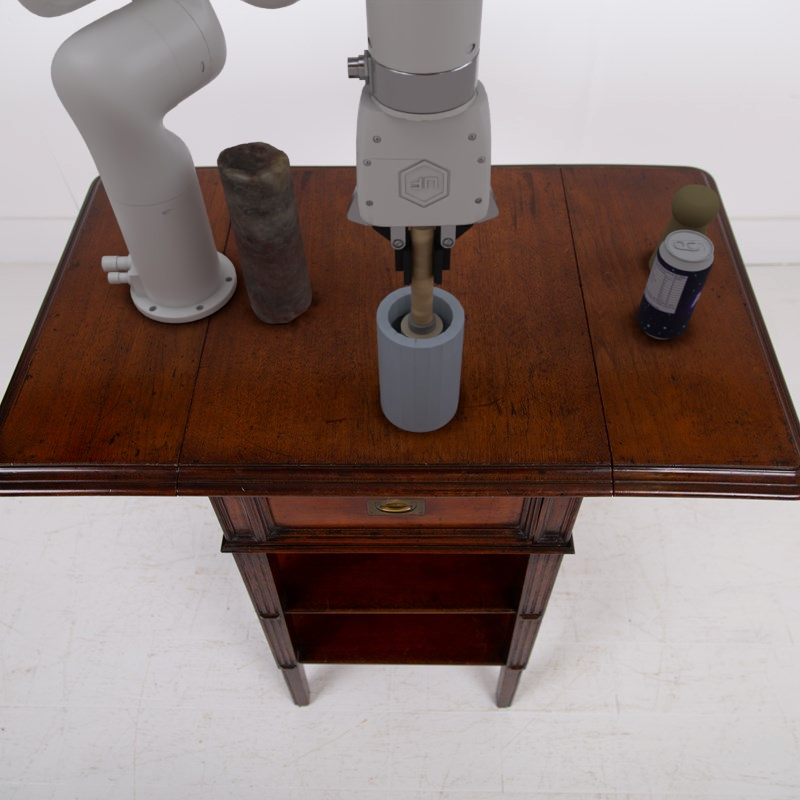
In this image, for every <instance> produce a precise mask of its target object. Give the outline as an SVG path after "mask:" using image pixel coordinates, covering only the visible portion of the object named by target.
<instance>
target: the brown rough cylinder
mask: <svg viewBox="0 0 800 800" xmlns="http://www.w3.org/2000/svg"><path fill="white" fill-rule="evenodd" d="M216 166H217V170H218V174H219V179H220V182H221V186H222V189H223V194H224V198H225V202H226V206H227V210H228V215H229V219H230V223H231V227H232V231H233V234H234V241H235V244H236V249H237V254H238V257H239V261H240V265H241V266H240V267H241V270H242V274H243V279H244V284H245V288H246V292H247V295H248V299H249V304H250V306H251V309H252V310H253V312H254V313H255V315H256V316H257V317H258V319H259V320H260V321H262V322H263V323H265V324H270V325H271V324H272V325H273V324H275V325H276V324H287V323H290V322H292V321H294V319H295V318H297V317H299V316H300V315H301V314H304V313H305V312H307V310H308V309H309V307H310V305H311V304H312V297H313V293H312V286H311V285H312V284H311V279H310V273H309V268H308V263H307V258H306V251H305V246H304V242H303V241H304V240H303V234H302V230H301V229H302V228H301V224H300V218H299V211H298V204H297V198H296V191H295V186H294V180H293V176H292V175H293V174H292V167H291V162H290V158H289V156H288V154H287V153H286V152H285V151H284V150H281V149H278V147H275V146H274V145H272V144H271V143H268V142H263V141H253V142H246V143H240V144H236V145H233V146H230V147H229V146H228V147H226V148H224V149H223V150H221V151H220V152H219V154H218V156H217V159H216Z"/></svg>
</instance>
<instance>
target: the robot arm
mask: <svg viewBox="0 0 800 800" xmlns="http://www.w3.org/2000/svg"><path fill="white" fill-rule="evenodd" d="M17 1H18V2H19V4H20V5H22V7H23V8H24V9H26V10H27V11H28V12H30V13H31V14H33V15H36V16H38V17H41V18H57V17H61V16H64V15H67V14H71V13H72V12H75V11H77V10H79V9H81V8H83V7H86V6H88V5H89V4H92V3H94V2H97V0H17ZM240 1H241V2H244V3H245V4H248V5H250V6H252V7H255V8H260V9H266V10H278V9H282V8H287V7H290V6H292V5H294V4H296V3H298V2H299V1H300V0H240ZM483 4H484V0H365V14H366V15H365V17H366V34H367V37H366V38H367V49H363V50H364V51H363V54H358V55H357V56H351V57H347V76H348V79H358V80H359V81H364V83H365V84H364V85H363V87H362V89H361V94H360V96H359V102H358V110H357V116H356V133H355V135H356V136H355V155H356V156H355V162H356V163H355V166H356V167H355V168H356V169H355V171H356V173H355V174H356V185H355V186H354V190H353V192H352V194H351V196H350V199H349V202H348V204H347V208H346V218H347V220H348V221H350V222H352V223H355V224H358V225H361V226H365V227H371V228H372V229H373V230H374V231H375V232H377V233H378V234H379V235H381V237H383V238H384V239H386V240H387V241H388V242H390V246H391V248H393V249H394V270H395V272H403V274H402V275H403V286H411V284H412V249H411V229H409V227H410V226H435V234H434V262H433V284H435V285H443V271H451V258H452V257H451V255H452V254H451V253H452V248H453V247H454V246H455V245H456V241H457V239H459V238H460V237H462V235H464V234H465V233H466V232H469V230H470V229H472V228H473V227H474V225H477V224H478V225H479V224H481V223H484V222H487V221H490V220H493V219H495V218H498V216H499V215H500V210H499V203H498V200H497V198H496V195H495V193H494V190H493V188H492V186H491V178H492V176H491V174H492V121H491V109H490V102H489V97H488V92H487V91H486V88H485V85H484V84H483V82H482V81H481V80H480V79H479V67H480V66H479V65H480V50H481V49H480V48H481V33H482V18H483V7H484V6H483ZM227 51H228V50H227V41H226V36H225V34H224V31H223V28H222V25H221V22H220V20H219V18H218V15H217V14H216V11H215V9H214V7H213V5H212V3H211V1H210V0H131V2H129V3H126V4H125V5H123V6H122V7H120V8H117V9H114V10H113V11H110V12H109V13H106V14H105V15H103V16H101V17H99V18H97V19H95V20H93V21H92V22H90V23H88V24H86V25H84V26H83V27H81V28H79V29H77V31H74V33H72V34H71V35H70V36H69V37H68V38H66V39H65V40H64V41H63V42H62V43H61V44H60V45H59V46H58V48H57V50H56V51H55V53H54V55H53V57H52V60H51V65H50V78H51V83H52V86H53V88H54V91H55V93H56V95H57V97H58V99H59V101H60V102H61V105H62V106H63V108H64V109H65V111H66V112H67V114H68V116H69V117H70V119H71V120H72V122H73V124H74V125H75V127H76V129H77V131H78V133H79V134H80V136H81V138H82V139H83V142H84V143H85V145H86V148H87V150H88V151H89V154H90V156H91V158H92V160H93V163H94V165H95V167H96V168H95V169H96V170H97V173H98V175H99V177H100V180H101V182H102V185H103V188H104V191H105V193H106V195H107V198H108V200H109V203H110V206H111V208H112V211H113V214H114V215H115V216H114V217H115V219H116V222H117V224H118V226H119V229H120V233H121V235H122V238H123V240H124V243H125V245H126V248H127V251H128V255H127V256H126V255H125V256H122V255H121V256H120V255H103V256H102V257H101V269H102V270H103V272H104V273H107V281H108V282H107V283H109V284H110V285H121V284H128V285H129V286H130V289H129V291H130V297H131V299H132V302H133V304H134V306H135V308H137V310H138V311H139V312H140V313H141V314H143V315H144V316H145V317H147V318H149V319H152V320H153V321H158V322H160V323H166V324H167V323H169V324H182V323H183V324H184V323H190V322H195V321H198V320H201V319H204V318H206V317H209V316H211V315H213V314H214V313H216V312H217V311H219V310H221V308H222V307H224V306H225V305H227V304H228V302H229V301H230V300H231V298H232V297H233V295H234V294H235V292H236V288H237V284H238V276H237V273H236V268H235V266H234V264H233V262H232V261H231V260H230V259H229V257H227V256H226V255H224V254H223V253H222V252H220V251H218V250H217V247H216V243H215V239H214V235H213V231H212V228H211V223H210V219H209V216H208V212H207V208H206V204H205V200H204V196H203V193H202V189H201V185H200V182H199V178H198V173H197V170H196V167H195V163H194V159H193V156H192V153H191V150H190V149H189V147H188V145H187V144H186V142H185V141H184V140H183V139H182V138H181V137H180V136H179V135H177V134H176V133H175V132H173V131H171V130H170V129H168V128H167V127H165V125H164V118H165V117H166V115H167V113H169V112H170V111H172V110H174V109H175V108H176V107H177V106H179V104H181V103H182V102H183V101H185V100H186V99H188V98H189V97H191V96H192V95H194V94H195V93H197V92H198V91H200V90H201V89H204V87H206V86H207V85H209V84H210V83H211V82H213V81H214V80H215V79H217V77H218V76H220V74H221V72H222V71H223V70H224V67H225V65H226V62H227V54H228V52H227Z"/></svg>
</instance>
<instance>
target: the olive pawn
mask: <svg viewBox="0 0 800 800" xmlns="http://www.w3.org/2000/svg"><path fill="white" fill-rule="evenodd" d="M670 204H671V208H670V209H671V214H672V215H671V216H670V219H669V221H668V223H667V225H666V227H665V229H664V231H663V233H662V235H661V237H660V239H659V241H658V243H657V245H656V246H655V249H654V251H653V252H652V254H651V256H650V259H649V261H648V268H649V270H650V271H651V269H652V266H653V263H654V260H655V257H656V254H657V251H658V248H659V246H660V244H661V243H662V242H663V241H665V239H666V237H667V236H668V235H669V234H670V233H672V232H674V231H678V230H691V231H696V232H699V233H701V234H703V235H705V236H706V237H707V234H708V229H709V226H710V223H712V222H713V221H714V220H715V219H716V217H717V216H718V213H719V211H720V209H721V200H720V197H719V195H718V194H717V191H715V190H714V189H712V188H710V187H709V186H706V185H703V184H696V183H695V184H694V183H693V184H687V185H684V186H682V187H681V188H679V189H678V190H677V191H676V192H675V194H674V196H673V198H672V201H671V203H670Z"/></svg>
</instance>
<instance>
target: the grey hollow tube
mask: <svg viewBox="0 0 800 800" xmlns="http://www.w3.org/2000/svg"><path fill="white" fill-rule="evenodd" d="M410 312H411V285H407V286H403V287H400V288H397V289H396V290H394V291H392V292H390V293H389V294H387V295H386V296H385V297H384V298H383V300H381V301H380V303H379V306H378V308H377V310H376V339H377V355H378V356H377V357H378V374H379V376H378V377H379V393H380V405H381V410H382V413H383V414H384V416H385V417H386V419H387V420H388V421H389V422H390V423H392V425H394V426H395V427H397V428H399V429H401V430H404V431H407V432H410V433H411V432H412V433H427V432H433V431H436V430H438V429H440V428H442V427H444V426H445V425H447V424H448V423H449V422H451V420H452V419H453V418H454V416H455V414H456V413H457V410H458V405H459V398H460V387H461V373H462V360H463V346H464V335H465V334H464V333H465V320H466V319H465V310H464V308H463V306H462V304H461V302H460V300H459V299H457V298H456V296H454V295H453V294H452V293H451V292H448V291H446V290H444V289H442V288H441V287H437V286H433V313H435V314H436V315H438V316H439V317H440V318H441V320H442V322H443V333H442V334H440V335H438V336H436V337H433V338H429V339H413V338H409V337H405V336H403V335H401V322H402V320H403V318H404V317H405V316H406V315H407V314H409V313H410Z"/></svg>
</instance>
